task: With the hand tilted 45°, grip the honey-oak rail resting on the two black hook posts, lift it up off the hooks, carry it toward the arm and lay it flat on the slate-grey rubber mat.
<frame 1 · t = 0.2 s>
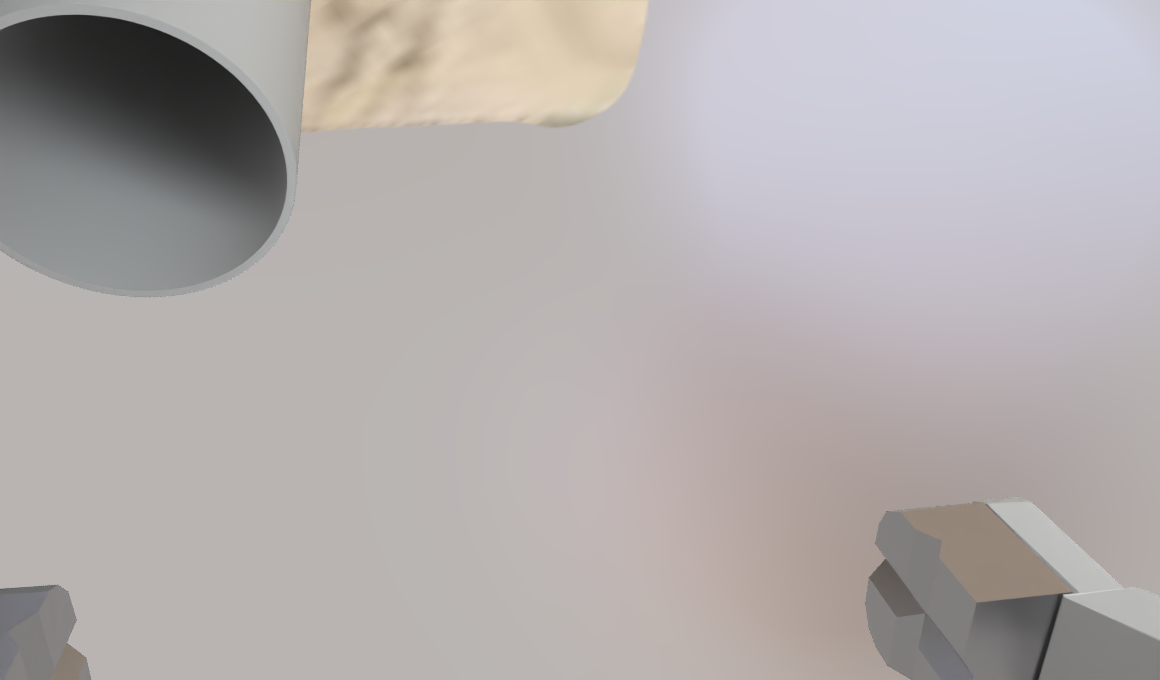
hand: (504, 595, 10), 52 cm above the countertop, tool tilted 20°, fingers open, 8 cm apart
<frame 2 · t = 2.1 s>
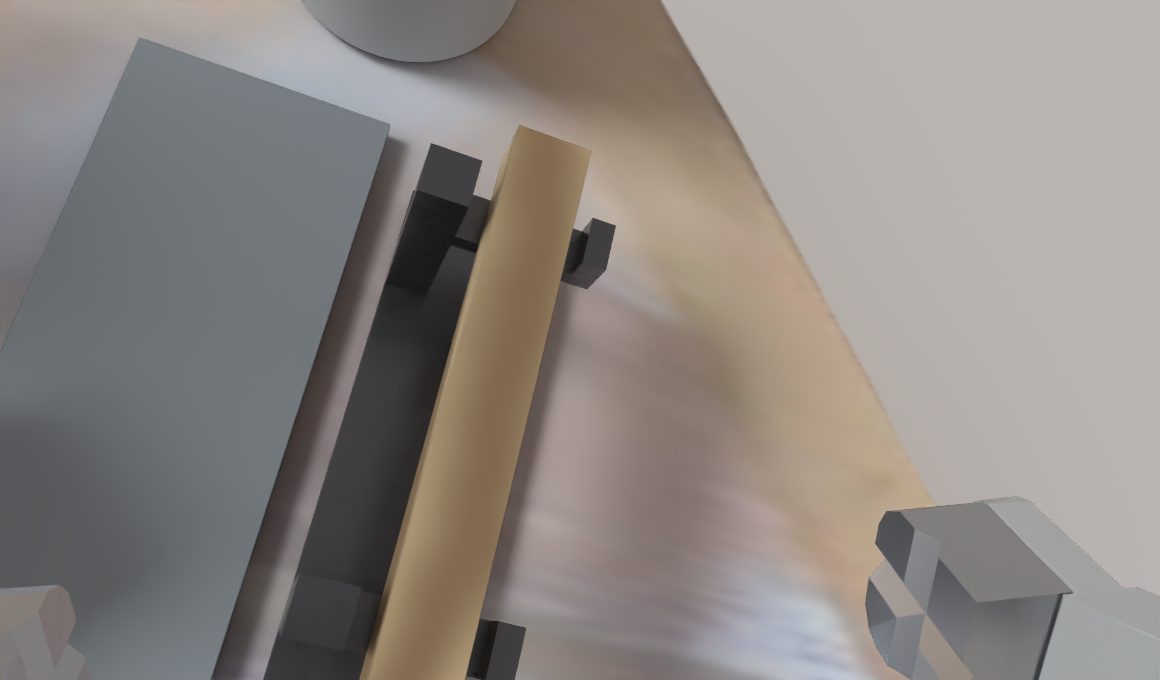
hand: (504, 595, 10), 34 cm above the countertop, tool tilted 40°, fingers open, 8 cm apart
oak rail: (471, 419, 36), point 9 cm above the countertop, touching hook stand
hook stand: (424, 451, 44), on the countertop
rubber mat: (168, 358, 42), on the countertop
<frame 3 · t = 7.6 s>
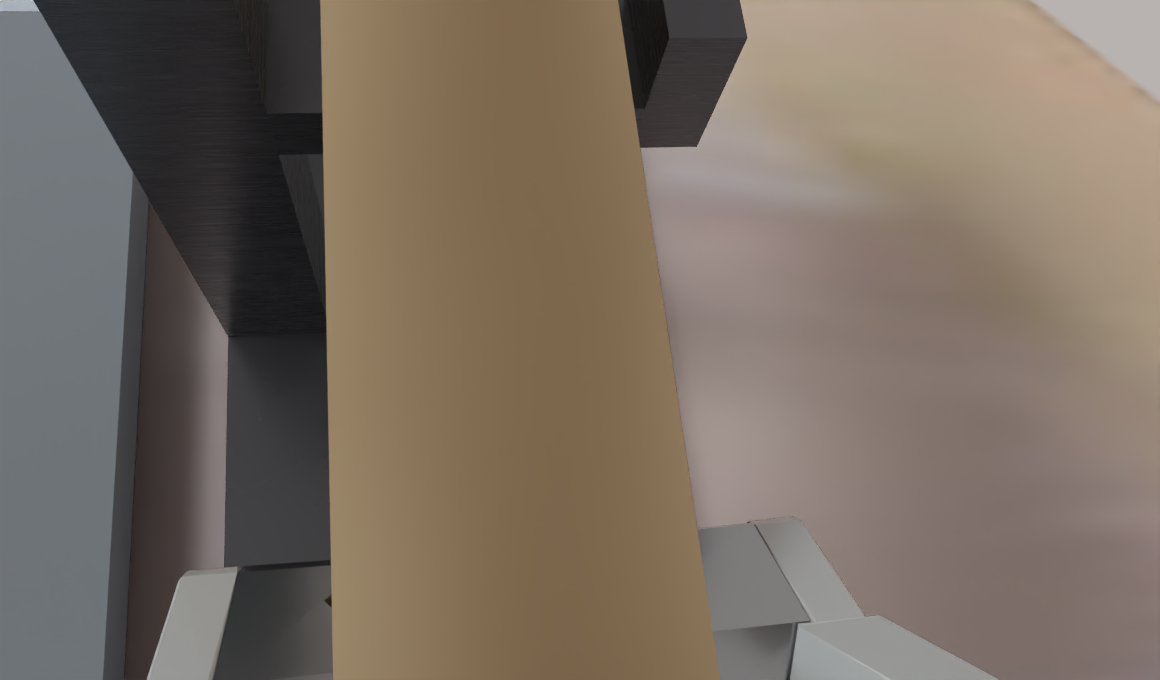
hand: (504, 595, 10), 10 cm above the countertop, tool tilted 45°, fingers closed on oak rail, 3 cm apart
oak rail: (504, 663, 10), point 9 cm above the countertop, touching gripper, hook stand
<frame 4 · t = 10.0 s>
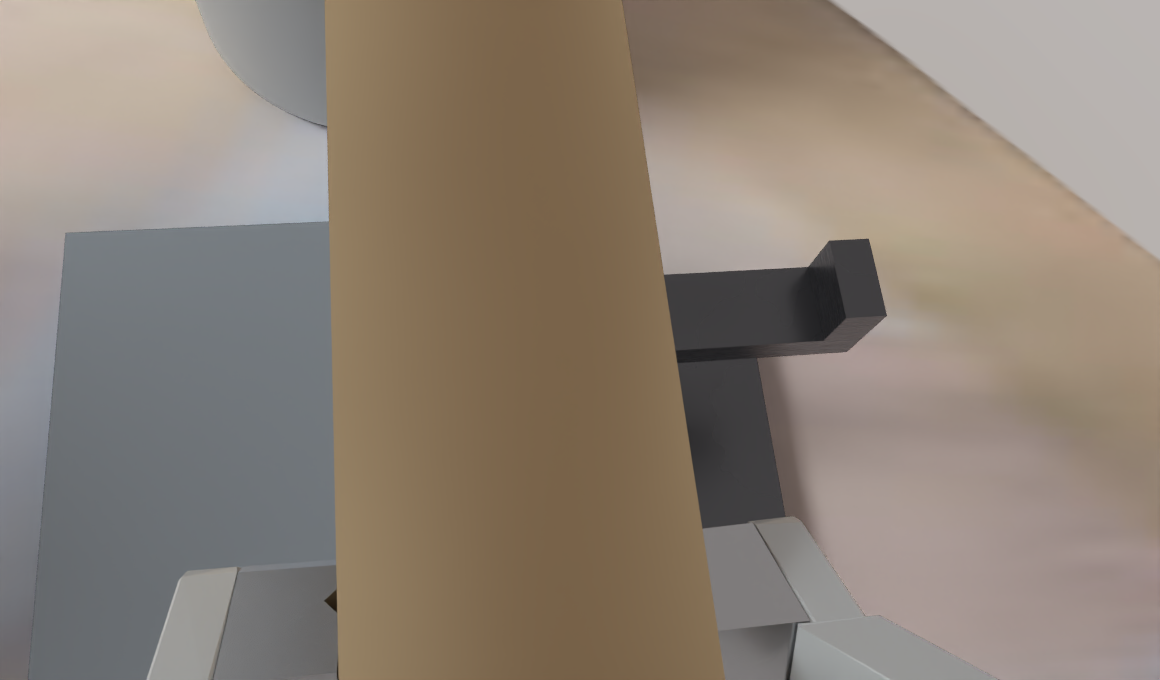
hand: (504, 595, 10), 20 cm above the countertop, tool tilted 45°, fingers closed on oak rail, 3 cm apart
oak rail: (508, 664, 10), point 19 cm above the countertop, touching gripper
hook stand: (671, 663, 29), on the countertop
rubber mat: (264, 673, 28), on the countertop
cylinder vase: (376, 4, 37), on the countertop
when the fingers open (4 cm above the countertop, at t = 12.9 s): oak rail drops 2 cm, resting on rubber mat.
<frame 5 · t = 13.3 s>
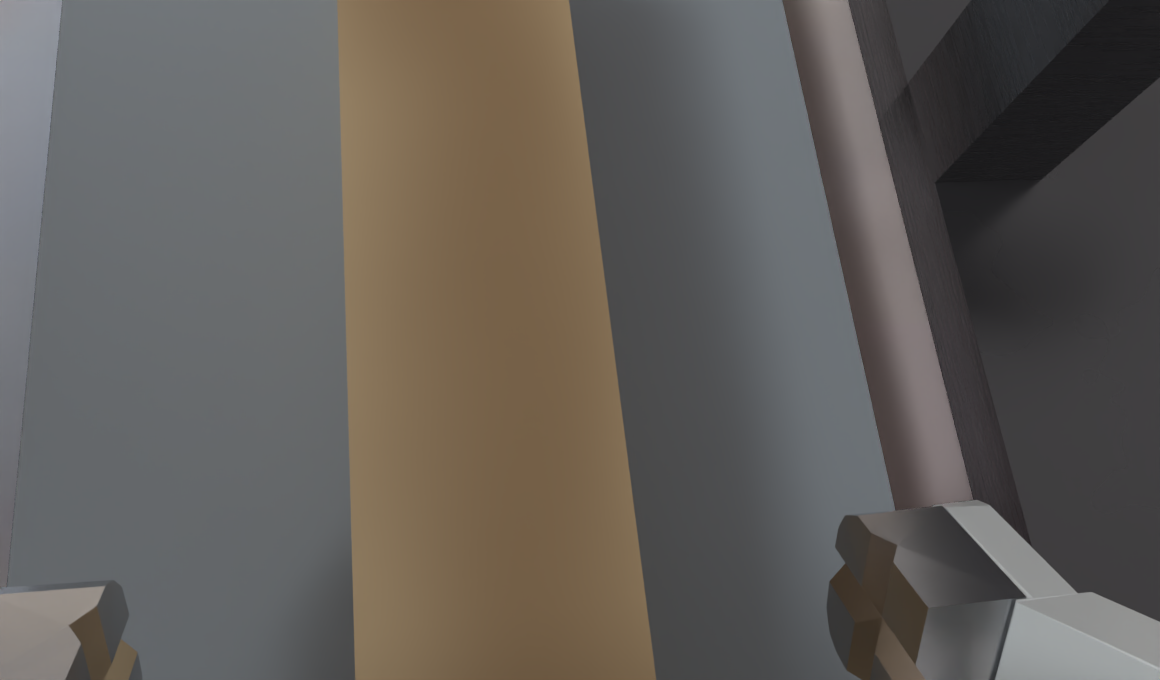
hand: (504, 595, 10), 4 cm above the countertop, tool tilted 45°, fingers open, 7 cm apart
oak rail: (492, 671, 12), point 1 cm above the countertop, touching rubber mat
rubber mat: (484, 600, 14), on the countertop
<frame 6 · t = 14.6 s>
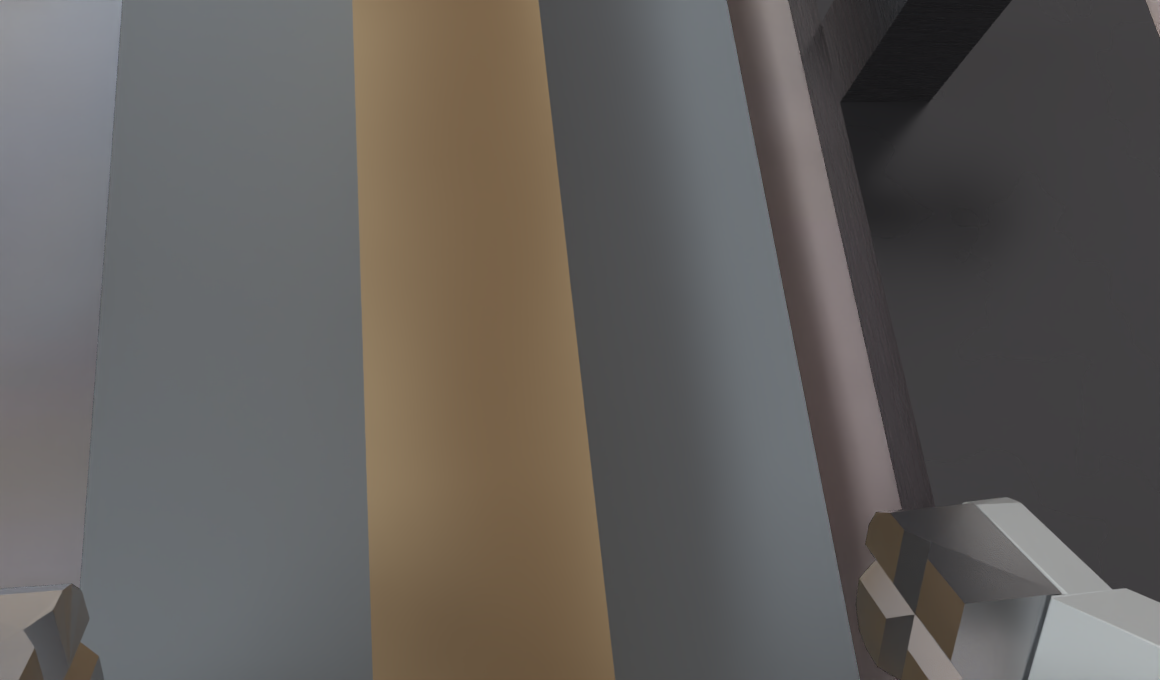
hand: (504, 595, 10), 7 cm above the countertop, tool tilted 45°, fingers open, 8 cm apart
oak rail: (470, 464, 16), point 1 cm above the countertop, touching rubber mat
hook stand: (1075, 433, 19), on the countertop
rubber mat: (466, 425, 17), on the countertop
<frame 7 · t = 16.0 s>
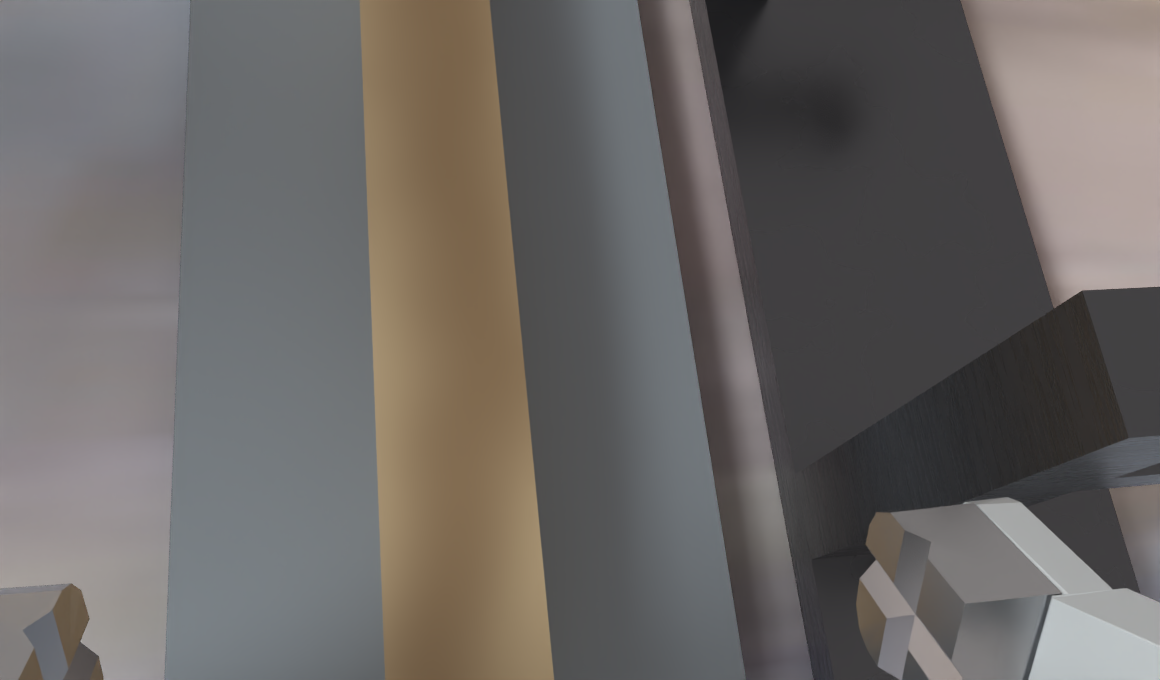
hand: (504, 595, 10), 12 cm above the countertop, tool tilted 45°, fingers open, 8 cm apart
oak rail: (435, 222, 23), point 1 cm above the countertop, touching rubber mat
hook stand: (868, 228, 27), on the countertop
rubber mat: (434, 209, 25), on the countertop
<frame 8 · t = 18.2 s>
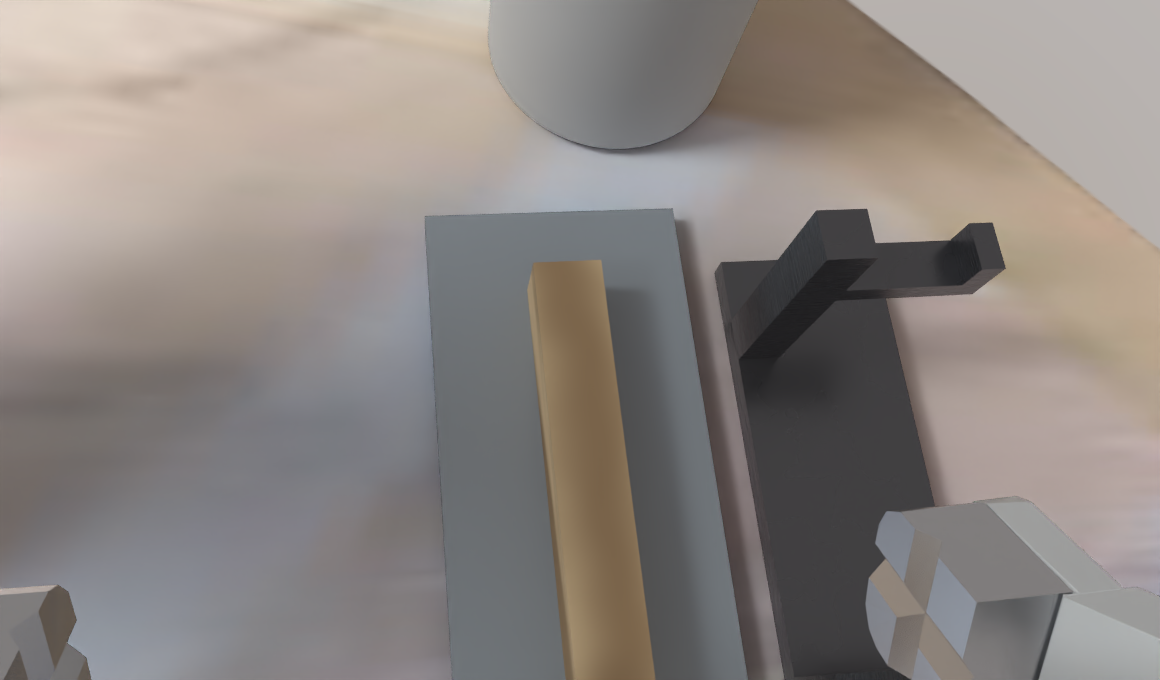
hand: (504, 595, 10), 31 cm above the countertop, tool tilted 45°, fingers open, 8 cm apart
oak rail: (585, 525, 40), point 1 cm above the countertop, touching rubber mat
hook stand: (839, 507, 44), on the countertop
rubber mat: (579, 507, 42), on the countertop
cylinder vase: (603, 57, 51), on the countertop
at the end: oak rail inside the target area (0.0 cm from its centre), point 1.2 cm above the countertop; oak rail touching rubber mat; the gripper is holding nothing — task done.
